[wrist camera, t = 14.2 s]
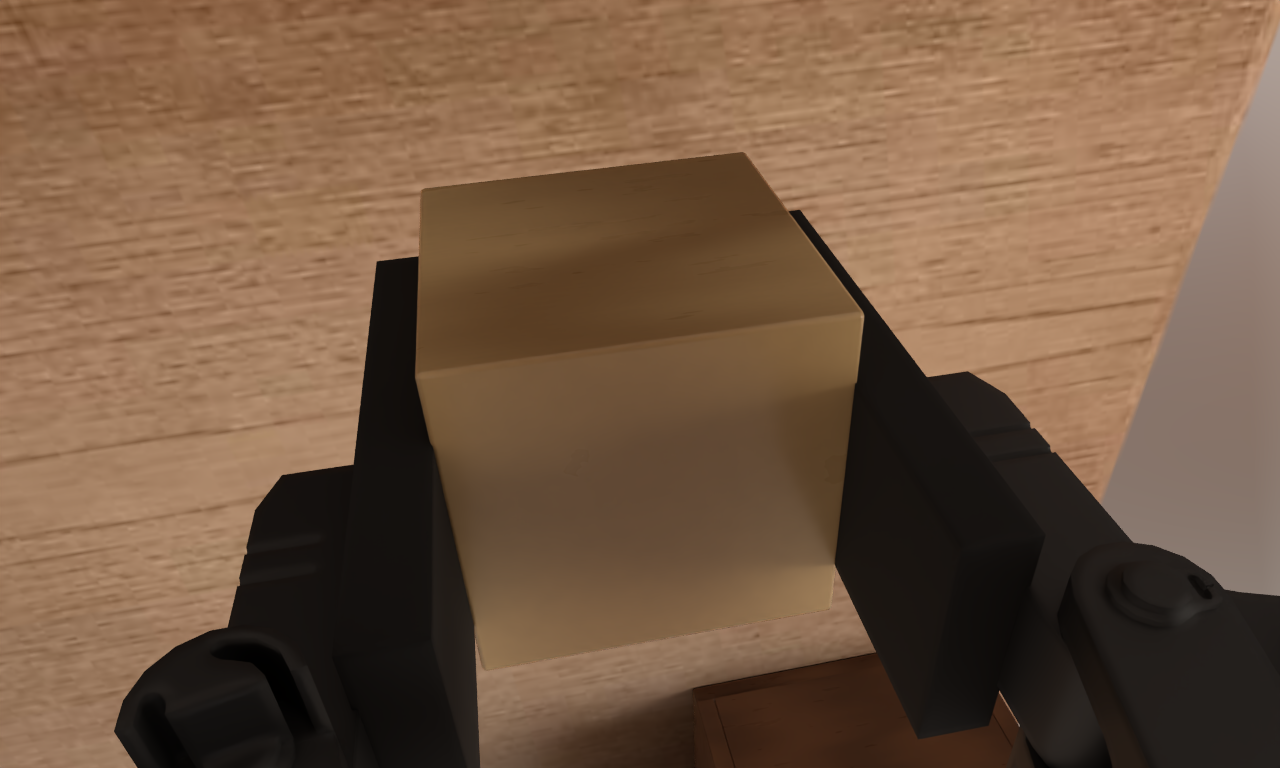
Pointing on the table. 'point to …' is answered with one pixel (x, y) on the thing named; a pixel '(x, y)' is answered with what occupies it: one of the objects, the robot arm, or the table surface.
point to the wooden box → (832, 724)
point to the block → (633, 403)
